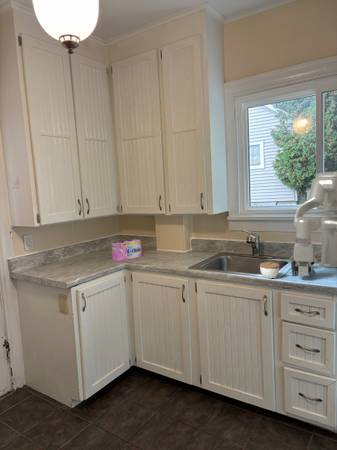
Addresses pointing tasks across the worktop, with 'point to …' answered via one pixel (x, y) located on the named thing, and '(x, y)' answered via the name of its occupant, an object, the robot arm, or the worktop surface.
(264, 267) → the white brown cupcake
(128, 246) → the gum box
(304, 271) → the lock block
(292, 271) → the coupler socket
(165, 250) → the worktop surface
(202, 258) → the worktop surface
